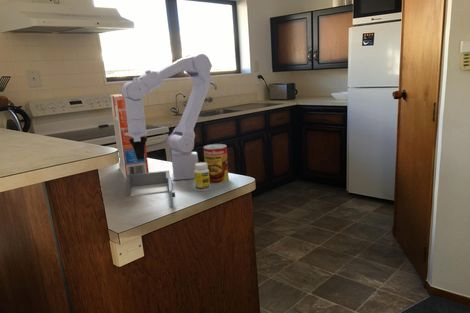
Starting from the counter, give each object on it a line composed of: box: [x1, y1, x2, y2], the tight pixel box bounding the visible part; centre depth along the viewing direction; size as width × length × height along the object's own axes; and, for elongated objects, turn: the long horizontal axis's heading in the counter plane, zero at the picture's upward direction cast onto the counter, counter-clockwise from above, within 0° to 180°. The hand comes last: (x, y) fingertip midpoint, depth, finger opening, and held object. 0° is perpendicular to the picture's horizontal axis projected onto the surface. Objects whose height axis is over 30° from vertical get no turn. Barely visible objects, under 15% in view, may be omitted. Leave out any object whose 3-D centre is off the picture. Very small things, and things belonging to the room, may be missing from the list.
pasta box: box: [109, 93, 150, 180], centre depth 144 cm, size 23×8×30 cm, turn 23°
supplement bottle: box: [194, 161, 211, 192], centre depth 120 cm, size 5×5×8 cm
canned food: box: [203, 143, 229, 185], centre depth 129 cm, size 8×8×12 cm
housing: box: [124, 170, 171, 197], centre depth 123 cm, size 14×10×4 cm
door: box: [168, 176, 176, 207], centre depth 113 cm, size 14×2×4 cm, turn 11°
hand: (140, 159), depth 126 cm, fingers closed
